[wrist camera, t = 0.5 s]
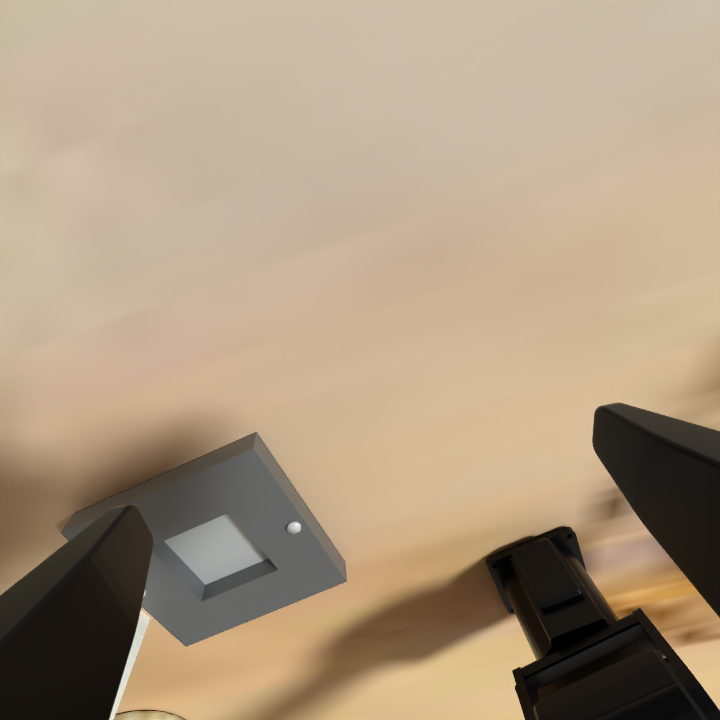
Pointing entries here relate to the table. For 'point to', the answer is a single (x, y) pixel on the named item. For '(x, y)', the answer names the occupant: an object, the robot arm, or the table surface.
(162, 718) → the hand bell
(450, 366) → the table surface
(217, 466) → the outlet plate
